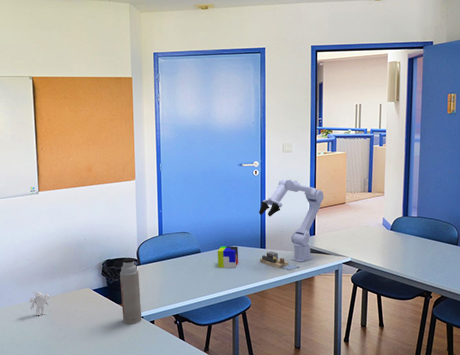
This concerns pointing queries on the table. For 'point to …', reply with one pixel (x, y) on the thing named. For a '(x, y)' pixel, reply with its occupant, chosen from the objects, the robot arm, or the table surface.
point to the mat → (290, 267)
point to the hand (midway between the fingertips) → (264, 214)
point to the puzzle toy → (227, 257)
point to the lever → (269, 258)
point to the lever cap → (272, 255)
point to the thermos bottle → (130, 292)
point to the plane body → (277, 264)
